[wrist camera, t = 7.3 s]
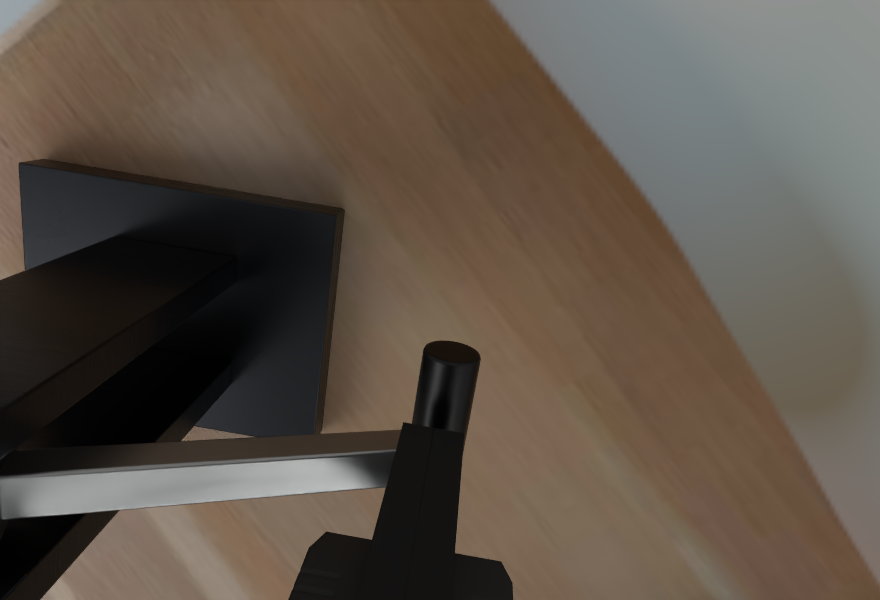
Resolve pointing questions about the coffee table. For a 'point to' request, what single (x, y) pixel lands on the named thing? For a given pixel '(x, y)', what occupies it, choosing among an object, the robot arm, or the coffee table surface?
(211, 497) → the lever
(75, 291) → the bracket
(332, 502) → the coffee table surface
